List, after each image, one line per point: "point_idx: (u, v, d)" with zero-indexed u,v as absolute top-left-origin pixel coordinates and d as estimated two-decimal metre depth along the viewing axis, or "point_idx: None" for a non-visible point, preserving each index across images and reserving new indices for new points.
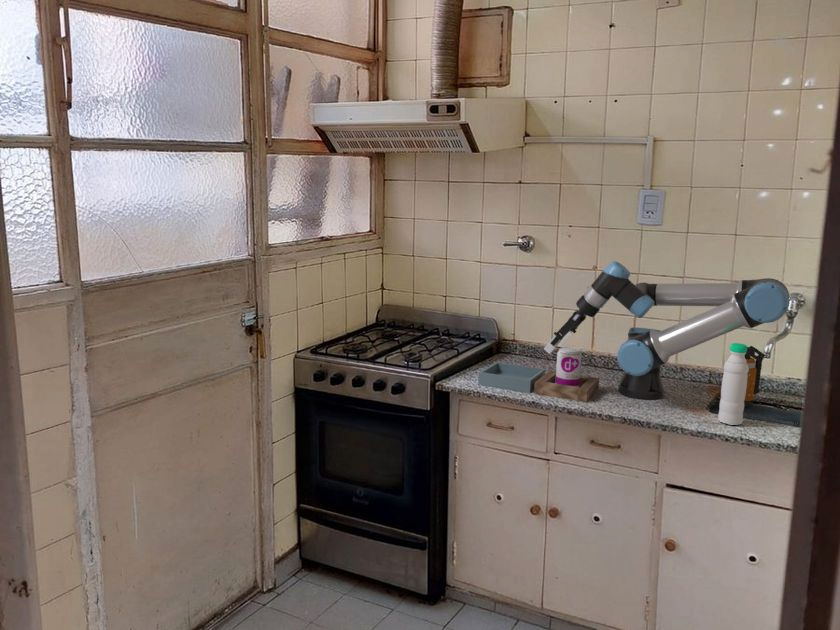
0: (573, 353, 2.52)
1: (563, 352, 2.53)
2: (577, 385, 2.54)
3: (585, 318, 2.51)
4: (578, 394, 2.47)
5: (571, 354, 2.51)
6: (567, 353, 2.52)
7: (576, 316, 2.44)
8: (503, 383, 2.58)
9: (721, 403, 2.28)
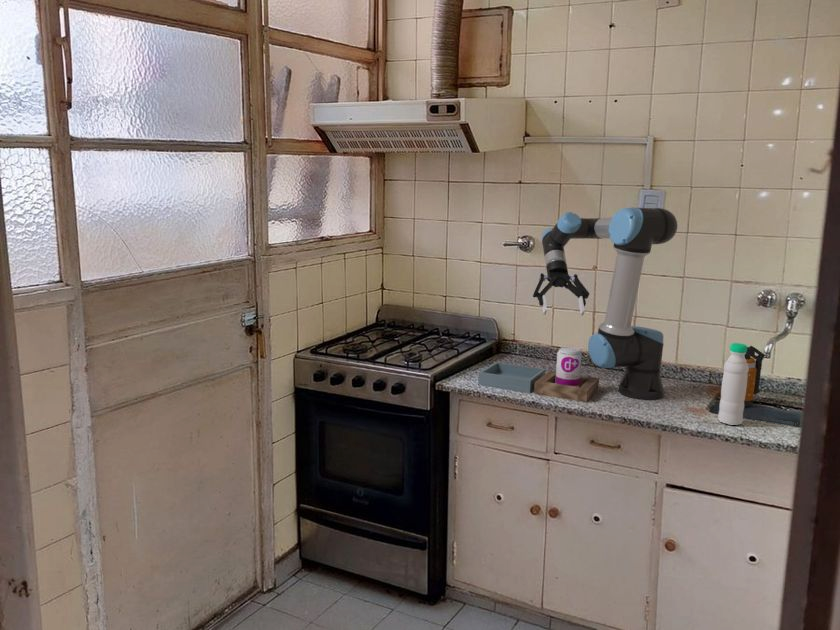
0: (573, 353, 2.52)
1: (563, 352, 2.53)
2: (577, 385, 2.54)
3: (563, 275, 2.70)
4: (578, 394, 2.47)
5: (571, 354, 2.51)
6: (567, 353, 2.52)
7: (540, 276, 2.71)
8: (503, 383, 2.58)
9: (721, 403, 2.28)
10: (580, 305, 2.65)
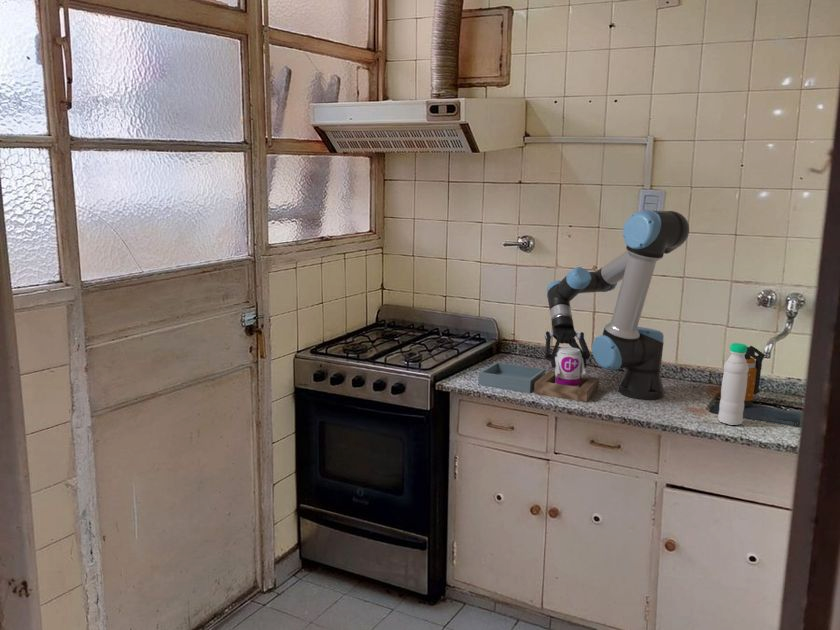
0: (573, 353, 2.52)
1: (563, 352, 2.53)
2: (577, 385, 2.54)
3: (569, 331, 2.61)
4: (578, 394, 2.47)
5: (571, 354, 2.51)
6: (567, 353, 2.52)
7: (545, 334, 2.62)
8: (503, 383, 2.58)
9: (721, 403, 2.28)
10: (581, 367, 2.55)
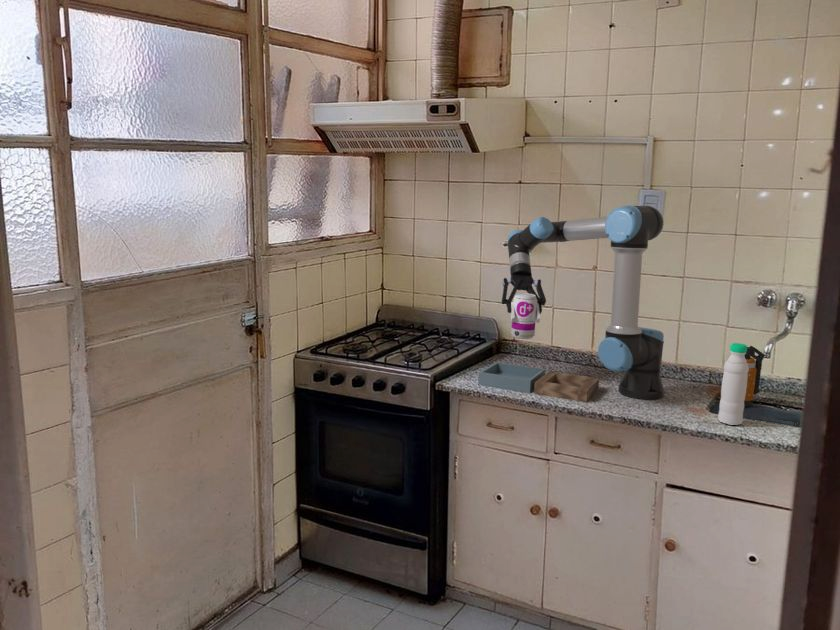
0: (528, 298, 2.56)
1: (518, 297, 2.57)
2: (532, 330, 2.59)
3: (526, 278, 2.66)
4: (578, 394, 2.47)
5: (526, 299, 2.56)
6: (522, 298, 2.57)
7: (503, 281, 2.67)
8: (503, 383, 2.58)
9: (721, 403, 2.28)
10: (536, 312, 2.60)
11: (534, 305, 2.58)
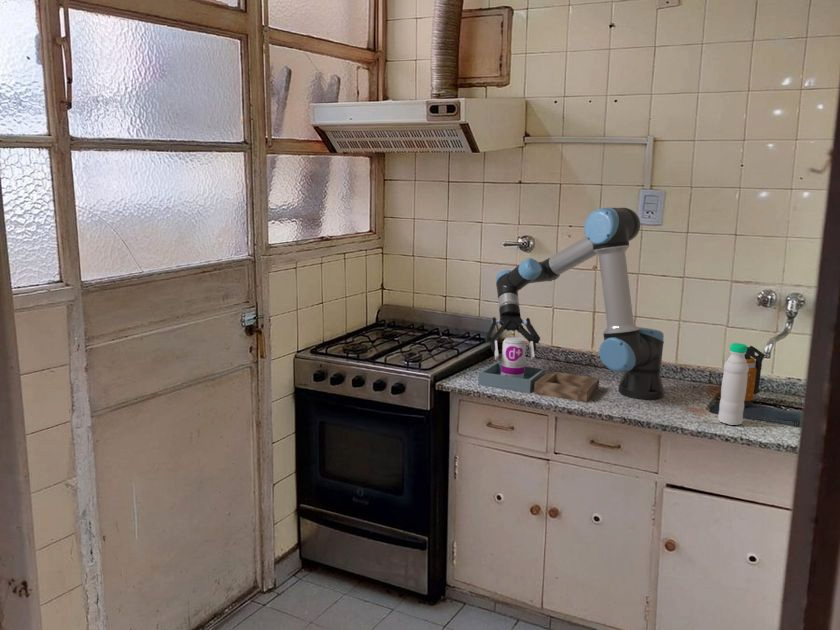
0: (517, 342, 2.60)
1: (507, 341, 2.61)
2: (521, 373, 2.63)
3: (515, 319, 2.69)
4: (578, 394, 2.47)
5: (515, 343, 2.60)
6: (511, 342, 2.60)
7: (492, 320, 2.70)
8: (503, 383, 2.58)
9: (721, 403, 2.28)
10: (530, 350, 2.64)
11: (523, 349, 2.61)
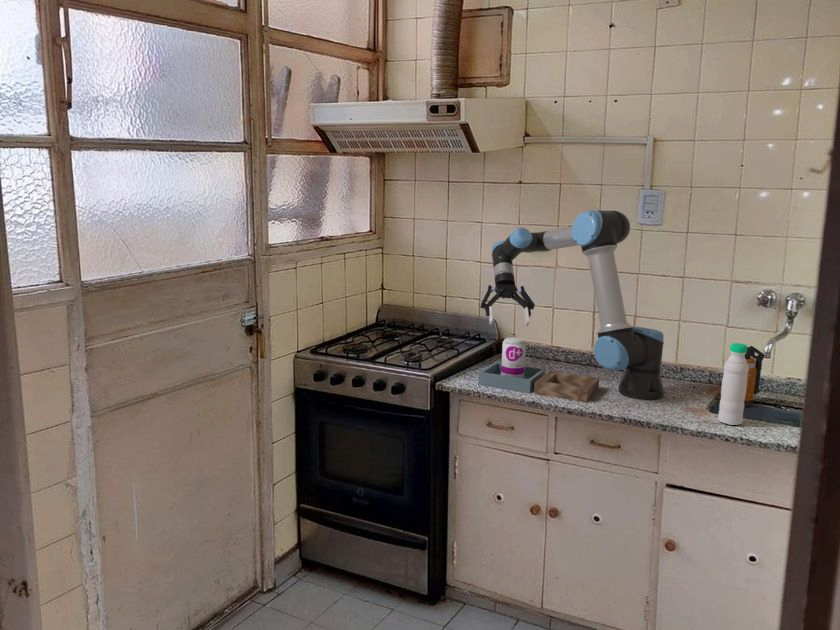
0: (517, 342, 2.60)
1: (507, 342, 2.61)
2: (521, 374, 2.63)
3: (510, 287, 2.80)
4: (578, 394, 2.47)
5: (515, 344, 2.60)
6: (511, 342, 2.60)
7: None
8: (503, 383, 2.58)
9: (721, 403, 2.28)
10: (525, 316, 2.75)
11: (523, 349, 2.61)
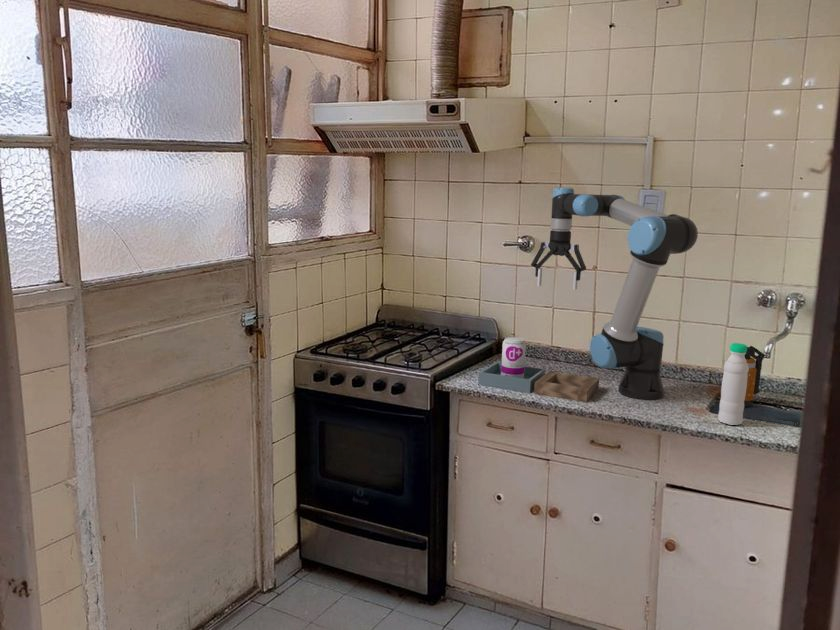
0: (517, 342, 2.60)
1: (507, 342, 2.61)
2: (521, 374, 2.63)
3: (561, 247, 2.71)
4: (578, 394, 2.47)
5: (515, 344, 2.60)
6: (511, 342, 2.60)
7: None
8: (503, 383, 2.58)
9: (721, 403, 2.28)
10: None
11: (523, 349, 2.61)
